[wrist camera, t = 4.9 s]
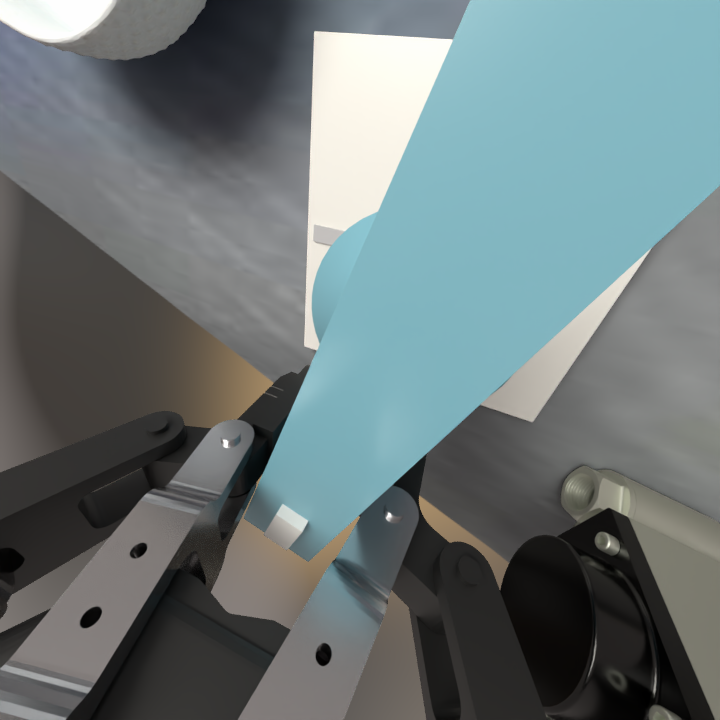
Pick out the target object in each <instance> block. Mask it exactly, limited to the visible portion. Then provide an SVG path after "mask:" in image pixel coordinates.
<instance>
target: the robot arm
mask: <svg viewBox="0 0 720 720" xmlns="http://www.w3.org/2000/svg"><path fill="white" fill-rule="evenodd" d="M310 366H311V365H307V366H305V367H304V369H303V370H302V371H301V372H300V373H299V374H296V373H293V372H290V373H288V374H286V375H284V376H281V377H280V378H279V379H278V380H277V381H276V382H275V383H274V384H273V385H272V387H270V388H269V389H268V390H267V391H266V392H265V394H263V395H262V396H261V397H260V398H259V399H258V400H257V401H256V402H255V403H253V405H251V406H250V407H249V408H248V409H247V411H245V413H243V414H242V415H241V416H240V417H239V418H238V419H237V420H228V421H224V422H221V423H219V424H217V425H216V426H214V427H213V428H201V427H190V426H185V425H184V421H183V419H182V417H181V416H180V415H179V414H177V413H174V412H170V411H161V412H155V413H152V414H149V415H146V416H144V417H141V418H138V419H136V420H133V421H131V422H128V423H126V424H123V425H120V426H118V427H115V428H113V429H110V430H108V431H105V432H103V433H100V434H98V435H95V436H93V437H90V438H87V439H85V440H82V441H80V442H77V443H75V444H72V445H70V446H67V447H64V448H62V449H59V450H57V451H54V452H52V453H49V454H47V455H44V456H42V457H39V458H36V459H34V460H31V461H29V462H26V463H24V464H21V465H19V466H16V467H13V468H11V469H8V470H6V471H3V472H1V473H0V619H1V618H2V617H3V615H4V614H5V612H6V610H7V602H8V600H9V599H10V597H11V595H12V594H14V593H15V592H17V591H18V590H20V589H22V588H24V587H25V586H27V585H29V584H31V583H32V582H34V581H36V580H37V579H39V578H41V577H42V576H44V575H46V574H47V573H49V572H51V571H53V570H54V569H56V568H57V567H59V566H61V565H63V564H64V563H66V562H68V561H69V560H71V559H73V558H75V557H76V556H78V555H80V554H81V553H83V552H85V551H86V550H88V549H90V548H91V547H93V546H95V545H96V544H98V543H100V542H101V541H103V540H105V539H107V538H108V537H109V539H108V540H107V541H106V542H105V544H104V545H103V546H102V547H101V548H100V550H99V551H98V552H97V553H96V555H95V556H94V557H93V558H92V559H91V561H90V562H89V563H88V564H87V566H86V567H85V568H84V569H83V570H82V572H81V573H80V574H79V575H78V576H77V578H76V579H75V580H74V581H73V583H72V584H71V585H70V586H69V588H68V589H67V590H66V591H65V592H64V594H63V595H62V596H61V597H60V599H59V600H58V601H57V602H56V603H55V605H54V606H53V607H52V608H51V609H49V610H47V611H45V612H42V613H40V614H38V615H37V616H34V617H32V618H30V619H28V620H26V621H24V622H22V623H20V624H18V625H16V626H14V627H12V628H10V629H8V630H6V631H4V632H2V633H0V720H344V717H345V715H346V712H347V710H348V707H349V705H350V702H351V699H352V697H353V694H354V691H355V689H356V687H357V684H358V681H359V679H360V676H361V674H362V671H363V669H364V666H365V663H366V661H367V658H368V656H369V653H370V651H371V648H372V646H373V643H374V640H375V637H376V635H377V633H378V630H379V628H380V625H381V622H382V620H383V617H384V614H385V611H386V608H387V604H388V597H389V595H390V592H391V590H392V591H393V592H394V593H395V594H396V595H397V596H398V597H399V598H400V599H401V600H402V601H403V602H404V603H405V604H406V605H407V606H408V607H409V611H410V618H411V624H412V630H413V637H414V642H415V649H416V656H417V661H418V669H419V674H420V681H421V688H422V694H423V700H424V706H425V713H426V720H547V717H546V714H545V712H544V709H543V706H542V703H541V701H540V698H539V695H538V693H537V690H536V687H535V685H534V682H533V679H532V676H531V674H530V671H529V668H528V666H527V663H526V660H525V658H524V655H523V652H522V649H521V647H520V644H519V641H518V639H517V636H516V633H515V630H514V628H513V625H512V622H511V620H510V617H509V614H508V612H507V609H506V606H505V603H504V601H503V598H502V595H501V593H500V590H499V587H498V585H497V582H496V579H495V577H494V574H493V571H492V569H491V567H490V565H489V563H488V561H487V560H486V559H485V557H484V556H483V555H482V554H481V553H480V552H479V551H478V550H477V549H475V548H474V547H473V546H471V545H469V544H466V543H464V542H452V543H449V542H448V541H447V540H446V539H444V538H443V537H442V536H441V535H440V534H439V533H437V532H436V531H435V530H434V529H433V528H432V527H431V526H430V525H429V524H428V523H427V522H426V520H425V518H424V517H423V515H422V513H421V510H420V506H419V493H420V487H421V482H422V476H423V471H424V466H425V460H426V455H427V454H426V455H424V456H423V457H422V458H421V459H420V460H419V461H418V462H417V463H416V464H415V465H414V466H412V467H411V468H410V469H409V470H408V471H407V472H406V473H405V474H404V475H403V476H401V477H400V478H399V479H398V480H397V481H396V482H395V483H394V484H393V485H392V486H391V487H389V488H388V489H387V490H386V491H385V492H384V493H383V494H382V495H381V496H380V497H379V498H377V499H376V500H375V501H374V502H373V503H372V504H371V505H370V506H369V507H368V508H366V509H365V510H364V511H363V512H362V513H361V514H360V515H359V516H360V518H359V520H358V522H357V524H356V525H355V527H354V529H353V530H352V532H351V534H350V536H349V538H348V539H347V541H346V543H345V544H344V546H343V548H342V550H341V551H340V553H339V554H338V556H337V557H336V559H335V560H334V561H333V562H332V563H331V564H330V566H329V567H328V569H327V570H326V572H325V574H324V575H323V577H322V578H321V580H320V582H319V583H318V585H317V587H316V589H315V590H314V592H313V594H312V595H311V597H310V599H309V601H308V602H307V604H306V605H305V607H304V609H303V610H302V612H301V614H300V615H299V617H298V619H297V620H296V622H295V624H294V626H293V627H292V629H291V630H290V629H288V628H286V627H284V626H283V625H281V624H279V623H277V622H275V621H273V620H267V619H260V618H254V617H247V616H241V615H234V614H230V613H228V612H227V611H225V609H224V608H223V607H222V606H221V605H220V604H219V602H218V601H217V600H216V598H214V596H213V595H212V594H211V591H212V589H213V586H214V584H215V582H216V580H217V578H218V576H219V573H220V571H221V568H222V565H223V562H224V558H225V553H226V550H227V547H228V544H229V542H230V540H231V538H232V536H233V534H234V532H235V530H236V528H237V526H238V524H239V521H240V519H241V517H242V515H243V513H244V511H245V509H246V507H247V505H248V503H249V501H250V499H251V497H252V495H253V493H254V491H255V488H256V484H257V483H256V482H257V481H258V479H259V478H260V477H261V475H262V474H263V472H264V471H265V468H266V466H267V464H268V461H269V459H270V457H271V455H272V452H273V450H274V448H275V445H276V443H277V441H278V439H279V436H280V434H281V432H282V429H283V427H284V425H285V423H286V420H287V418H288V416H289V413H290V411H291V409H292V407H293V404H294V402H295V400H296V397H297V395H298V393H299V391H300V388H301V386H302V384H303V381H304V379H305V377H306V375H307V372H308V370H309V368H310ZM141 467H142V469H140V470H138V471H136V472H134V473H132V474H131V475H128V476H126V477H124V478H122V479H120V480H118V481H116V482H114V483H112V484H110V485H108V486H106V487H104V488H102V489H100V490H98V491H95V492H92V491H94V490H96V489H98V488H100V487H103V486H104V485H107V484H109V483H111V482H113V481H115V480H117V479H119V478H121V477H123V476H125V475H127V474H129V473H131V472H133V471H135V470H137V469H139V468H141ZM90 492H92V493H90Z"/></svg>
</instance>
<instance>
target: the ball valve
mask: <svg viewBox="0 0 720 720" xmlns="http://www.w3.org/2000/svg"><path fill="white" fill-rule="evenodd" d="M561 505H562V507H563V508H564V509H565V510H566V511H567V512H568V513H569V514H570V515H571V516H572V517H573V518H574V519H575V520H576V521H577V522H576V523H575V525H574V527H573V528H571V529H569V530H568V531H566V532H564V533H562V534H561V535H559V536H557V537H555V536H550V535H540V536H536V537H533V538H531V539H529V540H528V541H526V542H525V543H524V544H523V545H522V546H521V547H520V548H519V549H518V550H517V551H516V553H515V554H514V556H513V557H512V559H511V561H510V563H509V565H508V567H507V570H506V572H505V575H504V578H503V582H502V585H501V590H500V593H501V595H502V598H503V601H504V603H505V606H506V609H507V612H508V614H509V617H510V620H511V622H512V625H513V628H514V630H515V633H516V636H517V639H518V641H519V644H520V647H521V649H522V652H523V655H524V658H525V660H526V663H527V666H528V668H529V671H530V674H531V676H532V679H533V682H534V685H535V687H536V690H537V693H538V695H539V698H540V701H541V703H542V706H543V709H544V712H545V714H546V717H547V720H720V523H718V522H717V521H715V520H714V519H712V518H710V517H708V516H706V515H704V514H701V513H699V512H697V511H695V510H693V509H691V508H689V507H687V506H685V505H683V504H681V503H679V502H677V501H674V500H672V499H670V498H668V497H666V496H664V495H662V494H660V493H658V492H656V491H654V490H652V489H650V488H648V487H645V486H643V485H641V484H639V483H637V482H635V481H633V480H631V479H629V478H627V477H625V476H623V475H621V474H619V473H616V472H614V471H612V470H605V469H604V470H598V471H596V470H594V469H591V468H589V467H587V466H585V465H584V466H582V467H580V468H578V469H576V470H574V471H573V472H572V473H570V474H569V475H568V477H567V478H566V479H565V481H564V484H563V487H562V491H561Z"/></svg>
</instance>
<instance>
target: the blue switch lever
mask: <svg viewBox="0 0 720 720" xmlns="http://www.w3.org/2000/svg"><path fill="white" fill-rule="evenodd" d="M719 186H720V0H470V3H469V5H468V7H467V9H466V12H465V14H464V16H463V18H462V21H461V23H460V25H459V28H458V30H457V32H456V34H455V37H454V39H453V41H452V44H451V46H450V48H449V50H448V53H447V55H446V57H445V60H444V62H443V64H442V66H441V69H440V71H439V73H438V76H437V78H436V80H435V82H434V85H433V87H432V89H431V92H430V94H429V96H428V98H427V101H426V103H425V105H424V108H423V110H422V112H421V114H420V117H419V119H418V121H417V124H416V126H415V128H414V130H413V133H412V135H411V137H410V139H409V142H408V144H407V146H406V149H405V151H404V153H403V155H402V158H401V160H400V162H399V165H398V167H397V169H396V171H395V174H394V176H393V178H392V181H391V183H390V185H389V187H388V190H387V192H386V194H385V197H384V199H383V201H382V203H381V206H380V208H379V210H378V212H376V213H374V214H371V215H369V216H367V217H365V218H363V219H361V220H360V221H358V222H357V223H355V224H354V225H352V226H351V227H349V228H348V229H347V230H346V231H345V232H344V233H343V234H341V235H340V236H339V237H338V238H337V239H336V241H335V242H334V243H333V244H332V246H331V247H330V248H329V250H328V251H327V253H326V254H325V256H324V258H323V259H322V261H321V264H320V266H319V268H318V271H317V274H316V277H315V281H314V284H313V291H312V317H313V323H314V328H315V332H316V335H317V338H318V341H319V343H320V345H319V347H318V350H317V352H316V354H315V356H314V359H313V361H312V363H311V366H310V368H309V370H308V372H307V375H306V377H305V379H304V381H303V384H302V386H301V388H300V391H299V393H298V395H297V397H296V400H295V402H294V404H293V407H292V409H291V411H290V413H289V416H288V418H287V420H286V423H285V425H284V427H283V429H282V432H281V434H280V436H279V439H278V441H277V443H276V445H275V448H274V450H273V452H272V455H271V457H270V459H269V461H268V464H267V466H266V468H265V471H264V473H263V475H262V477H261V480H260V482H259V484H258V487H257V489H256V491H255V494H254V496H253V498H252V500H251V502H250V505H249V507H248V510H247V512H246V514H245V516H244V519H245V520H247V521H248V522H250V523H251V524H253V525H254V526H256V527H257V528H259V529H260V530H262V531H263V532H265V533H264V536H266V537H267V538H269V539H271V540H272V541H273V542H275V543H276V544H278V545H279V546H281V547H282V548H284V549H285V550H287V549H290V550H292V551H293V552H294V553H296V554H297V555H299V556H300V557H302V558H303V559H305V560H306V561H310V560H311V559H312V558H313V557H314V556H315V555H316V554H317V553H318V552H319V551H320V550H321V549H323V548H324V547H325V546H326V545H327V544H328V543H329V542H330V541H331V540H332V539H334V538H335V537H336V536H337V535H338V534H339V533H340V532H341V531H342V530H343V529H345V528H346V527H347V526H348V525H349V524H350V523H351V522H352V521H353V520H354V519H355V518H357V517H358V516H359V515H360V514H361V513H362V512H363V511H364V510H365V509H366V508H368V507H369V506H370V505H371V504H372V503H373V502H374V501H375V500H376V499H377V498H379V497H380V496H381V495H382V494H383V493H384V492H385V491H386V490H387V489H388V488H389V487H391V486H392V485H393V484H394V483H395V482H396V481H397V480H398V479H399V478H400V477H401V476H403V475H404V474H405V473H406V472H407V471H408V470H409V469H410V468H411V467H412V466H414V465H415V464H416V463H417V462H418V461H419V460H420V459H421V458H422V457H423V456H424V455H426V454H427V453H428V452H429V451H430V450H431V449H432V448H433V447H434V446H435V445H436V444H438V443H439V442H440V441H441V440H442V439H443V438H444V437H445V436H446V435H447V434H449V433H450V432H451V431H452V430H453V429H454V428H455V427H456V426H457V425H458V424H459V423H461V422H462V421H463V420H464V419H465V418H466V417H467V416H468V415H469V414H470V413H471V412H473V411H474V410H475V409H476V408H477V407H478V406H479V405H480V404H481V403H482V402H483V401H485V400H486V399H487V398H488V397H489V396H490V395H492V394H493V393H494V392H495V391H497V390H498V389H499V388H500V387H502V386H503V385H504V384H505V383H506V382H507V381H508V380H509V379H510V378H511V376H512V375H513V374H514V373H515V372H516V371H517V370H518V369H520V368H521V367H522V366H523V365H524V364H525V363H526V362H527V361H528V360H529V359H531V358H532V357H533V356H534V355H535V354H536V353H537V352H538V351H539V350H540V349H541V348H543V347H544V346H545V345H546V344H547V343H548V342H549V341H550V340H551V339H552V338H553V337H555V336H556V335H557V334H558V333H559V332H560V331H561V330H562V329H563V328H564V327H566V326H567V325H568V324H569V323H570V322H571V321H572V320H573V319H574V318H575V317H576V316H578V315H579V314H580V313H581V312H582V311H583V310H584V309H585V308H586V307H587V306H588V305H590V304H591V303H592V302H593V301H594V300H595V299H596V298H597V297H598V296H599V295H601V294H602V293H603V292H604V291H605V290H606V289H607V288H608V287H609V286H610V285H611V284H613V283H614V282H615V281H616V280H617V279H618V278H619V277H620V276H621V275H622V274H623V273H625V272H626V271H627V270H628V269H629V268H630V267H631V266H632V265H633V264H634V263H636V262H637V261H638V260H639V259H640V258H641V257H642V256H643V255H644V254H645V253H646V252H648V251H649V250H650V249H651V248H652V247H653V246H654V245H655V244H656V243H657V242H658V241H660V240H661V239H662V238H663V237H664V236H665V235H666V234H667V233H668V232H669V231H671V230H672V229H673V228H674V227H675V226H676V225H677V224H678V223H679V222H680V221H681V220H683V219H684V218H685V217H686V216H687V215H688V214H689V213H690V212H691V211H692V210H693V209H695V208H696V207H697V206H698V205H699V204H700V203H701V202H702V201H703V200H704V199H706V198H707V197H708V196H709V195H710V194H711V193H712V192H713V191H714V190H715V189H716V188H718V187H719Z"/></svg>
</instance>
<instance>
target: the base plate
mask: <svg viewBox="0 0 720 720" xmlns="http://www.w3.org/2000/svg"><path fill="white" fill-rule="evenodd" d="M452 41H453V40H450V39H433V38H417V37H400V36H383V35H367V34H350V33H334V32H317V31H314V56H313V88H312V119H311V151H310V182H309V214H308V246H307V277H306V309H305V340H304V346H305V347H308V348H311V349H314V350H318V347H319V345H320V343H319V341H318V338H317V335H316V332H315V328H314V323H313V317H312V291H313V284H314V281H315V277H316V274H317V271H318V268H319V266H320V264H321V261H322V259H323V258H324V256H325V254H326V253H327V251H328V250H329V248H330V247H331V246H332V244H333V243H334V242H335V241H336V239H337V238H338V237H339V236H340V235H341V234H343V233H344V232H345V231H346V230H347V229H348V228H349V227H351V226H352V225H354V224H355V223H357V222H358V221H360V220H361V219H363V218H365V217H367V216H369V215H371V214H374V213H376V212H378V210H379V208H380V206H381V203H382V201H383V199H384V197H385V194H386V192H387V190H388V187H389V185H390V183H391V181H392V178H393V176H394V174H395V171H396V169H397V167H398V165H399V162H400V160H401V158H402V155H403V153H404V151H405V149H406V146H407V144H408V142H409V139H410V137H411V135H412V133H413V130H414V128H415V126H416V124H417V121H418V119H419V117H420V114H421V112H422V110H423V108H424V105H425V103H426V101H427V98H428V96H429V94H430V92H431V89H432V87H433V85H434V82H435V80H436V78H437V76H438V73H439V71H440V69H441V66H442V64H443V62H444V60H445V57H446V55H447V53H448V50H449V48H450V46H451V44H452ZM650 250H651V249H650ZM650 250H649V251H650ZM649 251H648V252H646V253H645V254H644V255H643V256H642V257H641V258H640V259H639V260H638V261H637V262H636V263H634V264H633V265H632V266H631V267H630V268H629V269H628V270H627V271H626V272H625V273H623V274H622V275H621V276H620V277H619V278H618V279H617V280H616V281H615V282H614V283H613V284H611V285H610V286H609V287H608V288H607V289H606V290H605V291H604V292H603V293H602V294H601V295H599V296H598V297H597V298H596V299H595V300H594V301H593V302H592V303H591V304H590V305H588V306H587V307H586V308H585V309H584V310H583V311H582V312H581V313H580V314H579V315H578V316H576V317H575V318H574V319H573V320H572V321H571V322H570V323H569V324H568V325H567V326H566V327H564V328H563V329H562V330H561V331H560V332H559V333H558V334H557V335H556V336H555V337H553V338H552V339H551V340H550V341H549V342H548V343H547V344H546V345H545V346H544V347H543V348H541V349H540V350H539V351H538V352H537V353H536V354H535V355H534V356H533V357H532V358H531V359H529V360H528V361H527V362H526V363H525V364H524V365H523V366H522V367H521V368H520V369H518V370H517V371H516V372H515V373H514V374H513V375H512V376H511V378H510V379H509V380H508V381H507V382H506V383H505V384H504V385H503V386H502V387H500V388H499V389H498V390H497V391H495V392H494V393H493V394H492V395H490V396H489V397H488V398H487V399H486V400H485V401H483V402H482V403H481V404H480V405H482V406H485V407H488V408H491V409H494V410H497V411H500V412H503V413H506V414H509V415H512V416H515V417H518V418H521V419H524V420H527V421H530V422H533V421H534V420H535V418H536V417H537V415H538V414H539V412H540V411H541V409H542V408H543V406H544V405H545V404H546V402H547V401H548V399H549V398H550V396H551V395H552V393H553V392H554V390H555V389H556V387H557V386H558V384H559V383H560V382H561V380H562V379H563V377H564V376H565V374H566V373H567V371H568V370H569V368H570V367H571V365H572V364H573V363H574V361H575V360H576V358H577V357H578V355H579V354H580V352H581V351H582V349H583V348H584V346H585V345H586V344H587V342H588V341H589V339H590V338H591V336H592V335H593V333H594V332H595V330H596V329H597V327H598V326H599V324H600V323H601V322H602V320H603V319H604V317H605V316H606V314H607V313H608V311H609V310H610V308H611V307H612V305H613V304H614V303H615V301H616V300H617V298H618V297H619V295H620V294H621V292H622V291H623V289H624V288H625V286H626V285H627V283H628V282H629V281H630V279H631V278H632V276H633V275H634V273H635V272H636V270H637V269H638V267H639V266H640V264H641V263H642V262H643V260H644V259H645V257H646V256H647V254H648V253H649Z"/></svg>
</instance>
